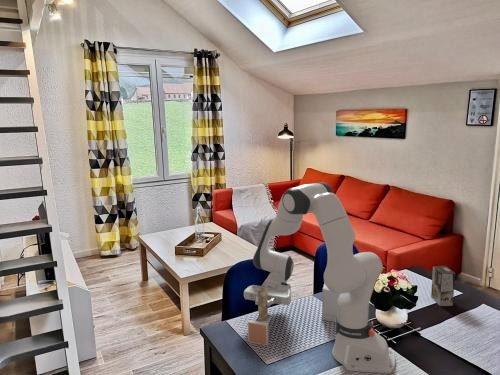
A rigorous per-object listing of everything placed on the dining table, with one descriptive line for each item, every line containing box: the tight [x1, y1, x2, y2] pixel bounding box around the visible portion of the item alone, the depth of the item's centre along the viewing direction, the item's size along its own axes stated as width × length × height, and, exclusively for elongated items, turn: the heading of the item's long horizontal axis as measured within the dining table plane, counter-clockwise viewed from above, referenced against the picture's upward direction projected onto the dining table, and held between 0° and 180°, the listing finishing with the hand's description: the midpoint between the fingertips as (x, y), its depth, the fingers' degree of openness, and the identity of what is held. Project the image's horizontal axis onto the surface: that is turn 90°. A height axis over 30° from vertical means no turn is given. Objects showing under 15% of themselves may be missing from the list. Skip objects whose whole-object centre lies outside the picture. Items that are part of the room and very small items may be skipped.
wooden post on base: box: [255, 287, 272, 324], centre depth 155 cm, size 5×7×14 cm
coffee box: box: [430, 265, 456, 307], centre depth 177 cm, size 9×6×16 cm
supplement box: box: [321, 282, 341, 323], centre depth 167 cm, size 9×9×15 cm
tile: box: [247, 319, 270, 346], centre depth 151 cm, size 8×2×9 cm, turn 70°
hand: (262, 304), depth 154 cm, fingers closed on wooden post on base, 3 cm apart
